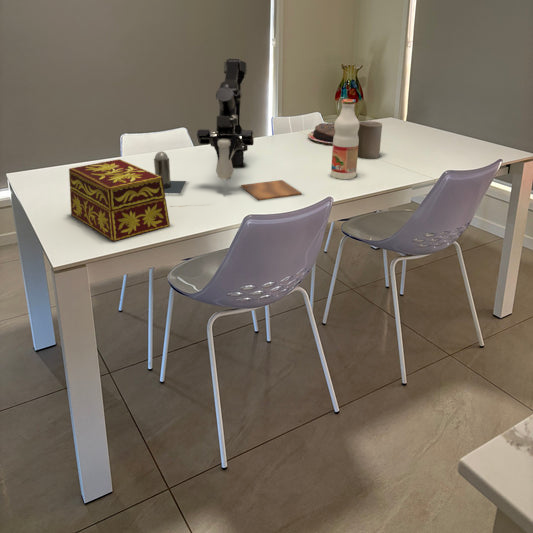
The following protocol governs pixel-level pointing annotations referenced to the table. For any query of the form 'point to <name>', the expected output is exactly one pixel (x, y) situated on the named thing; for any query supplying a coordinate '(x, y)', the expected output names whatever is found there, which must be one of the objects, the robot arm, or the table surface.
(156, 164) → the pepper shaker
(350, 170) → the fruit juice
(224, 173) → the salt shaker
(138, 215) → the decorative box
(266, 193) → the oak board
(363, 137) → the pillar candle
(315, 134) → the chocolate cake
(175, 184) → the slate mat
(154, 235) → the table surface
